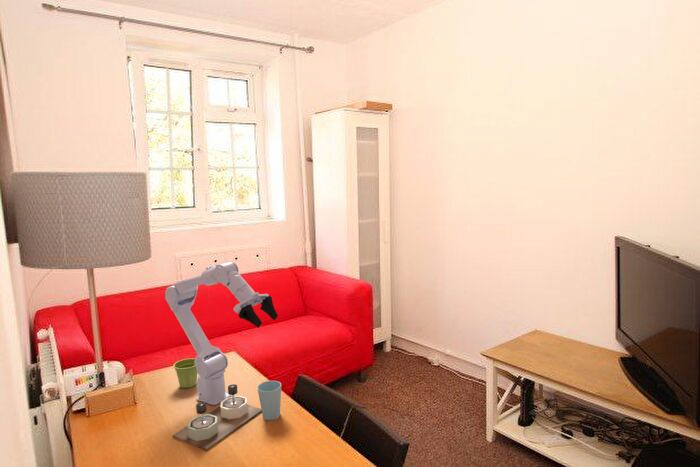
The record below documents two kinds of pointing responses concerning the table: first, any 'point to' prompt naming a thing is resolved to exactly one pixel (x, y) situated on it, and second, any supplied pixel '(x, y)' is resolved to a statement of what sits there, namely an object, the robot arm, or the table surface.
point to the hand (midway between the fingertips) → (268, 321)
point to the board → (219, 428)
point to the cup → (270, 399)
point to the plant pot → (186, 372)
